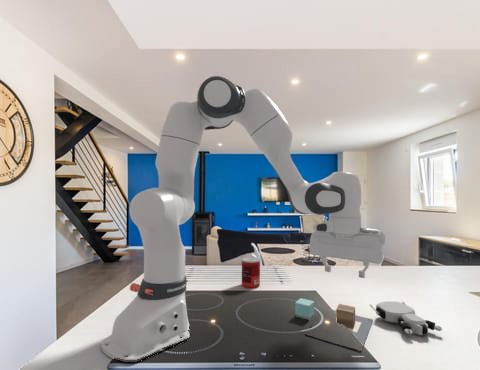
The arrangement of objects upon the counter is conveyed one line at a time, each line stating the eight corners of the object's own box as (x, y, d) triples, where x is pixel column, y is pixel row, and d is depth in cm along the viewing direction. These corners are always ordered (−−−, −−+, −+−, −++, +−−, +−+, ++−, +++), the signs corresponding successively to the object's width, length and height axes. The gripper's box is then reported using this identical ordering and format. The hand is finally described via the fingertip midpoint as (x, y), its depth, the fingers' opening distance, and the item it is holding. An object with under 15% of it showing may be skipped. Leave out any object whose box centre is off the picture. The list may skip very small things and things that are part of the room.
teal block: (309, 321, 79) (309, 306, 79) (295, 317, 82) (295, 302, 82) (314, 315, 83) (314, 301, 83) (300, 312, 85) (300, 298, 86)
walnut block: (353, 329, 73) (353, 312, 74) (336, 325, 76) (336, 309, 76) (355, 322, 77) (355, 306, 78) (339, 319, 80) (339, 303, 80)
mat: (361, 352, 63) (361, 350, 63) (304, 334, 71) (304, 333, 71) (373, 320, 80) (373, 319, 80) (326, 309, 87) (326, 308, 87)
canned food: (260, 283, 114) (260, 257, 115) (259, 289, 106) (259, 261, 107) (242, 282, 115) (242, 256, 116) (240, 288, 107) (241, 261, 108)
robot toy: (445, 340, 71) (400, 312, 86) (446, 323, 71) (401, 298, 86) (406, 344, 68) (367, 315, 83) (407, 327, 68) (368, 301, 83)
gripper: (385, 229, 75) (385, 278, 74) (314, 223, 86) (313, 266, 85) (383, 230, 70) (383, 284, 69) (307, 224, 81) (307, 270, 80)
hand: (344, 274), depth 77 cm, fingers open, 8 cm apart
